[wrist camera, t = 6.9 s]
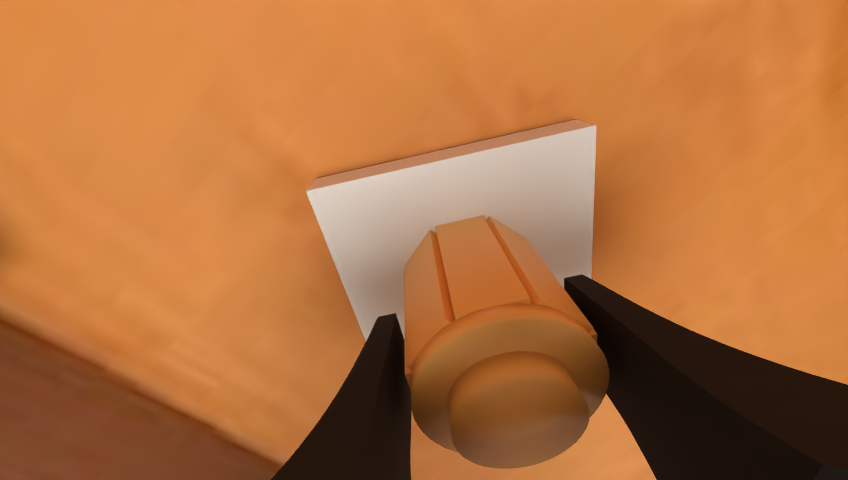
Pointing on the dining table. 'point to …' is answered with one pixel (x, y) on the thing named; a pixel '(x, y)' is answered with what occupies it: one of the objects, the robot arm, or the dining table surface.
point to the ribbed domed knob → (496, 348)
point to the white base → (459, 208)
